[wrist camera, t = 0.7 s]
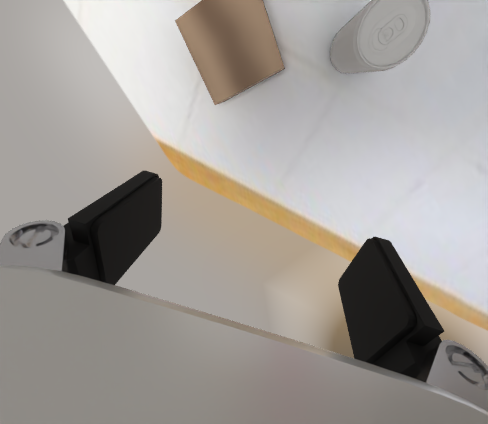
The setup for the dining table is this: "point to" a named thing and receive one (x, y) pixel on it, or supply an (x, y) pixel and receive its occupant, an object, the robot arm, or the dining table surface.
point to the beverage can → (380, 36)
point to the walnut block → (230, 45)
